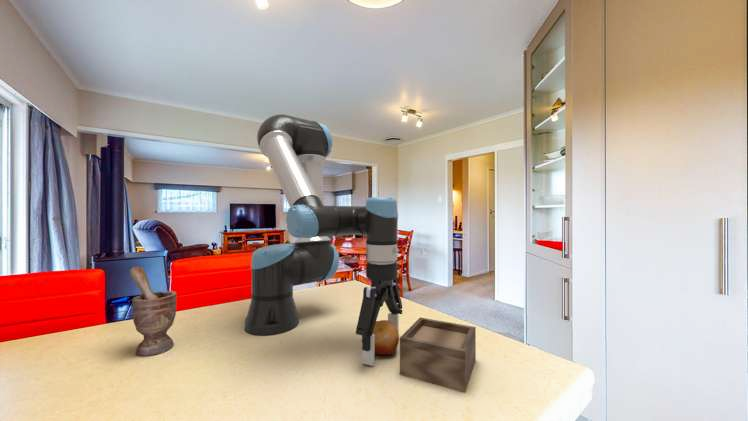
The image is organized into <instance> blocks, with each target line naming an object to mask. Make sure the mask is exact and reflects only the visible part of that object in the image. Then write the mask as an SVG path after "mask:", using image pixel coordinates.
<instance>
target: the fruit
mask: <svg viewBox="0 0 748 421" xmlns="http://www.w3.org/2000/svg"><path fill="white" fill-rule="evenodd" d="M372 334H375V356H388V355H392V354H394V353H395V352H396V351H397V349H398V346H399V342H400V337H399V336H400V335H398V330H397V328H396V327H395V326H394V325H393V324H392V323H391V322H389V321H388V319H387V320H386V319H383V320H382V319H381V320H376V323H375V326H374V330H373V333H372Z"/></svg>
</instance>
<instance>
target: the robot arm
mask: <svg viewBox="0 0 748 421" xmlns="http://www.w3.org/2000/svg"><path fill="white" fill-rule="evenodd" d="M256 138H257V140H256V141H257V145H258V148H259V150H260V152H261V154H262V155H263V156H265V158H267V159H268V161H269V164H270V166H271V168H272V170H273V173H274V175H275V176H276V178H277V181H278V184H279V185H280V188H281V191H282V192H283V195H284V198H285V199H286V202H287V204H288V206H289V208H288V210H287V213H286V216H285V223H286V230H287V231H288V233H289V235H290V236H292V237H294V238H296V240H295V241H294V246H293V244H292V243H279V244H278V243H277V244H271V245H266V246H262V247H259V248H257V249H255V250H254V251H252V255H251V264H250V270H251V273H250V274H251V276H250V277H251V279H250V280H251V281H250V282H251V283H250V284H251V285H250V286H251V290H250V291H251V295H250V296H251V300H250V304H249V308H248V311H247V315H246V316H245V318H244V331H246V333H249V334H252V335H256V336H257V335H259V336H267V335H269V336H270V335H276V334H280V333H281V334H282V333H285V332H288V331H290V330H292V329H294V328H295V327H297V326H298V325H299V323H300V321H299V320H300V316H299V312H298V310H297V306H296V302H295V300H294V289H293V288H294V287H295V286H301V285H306V284H311V283H322V282H323V281H327V280H330V279H332V278H333V277H334V276H335V274H336V273H337V272H338V269H339V264H340V256H339V255H340V254H339V252H338V249H337V247H336V246H335V245H333V244H332V242H331V241H332V240H331V238H330V237H336V236H337V237H338V236H339V237H340V236H356V235H357V236H358V235H359V236H365V237H366V238H365V239H366V241H365V243H366V245H365V246H366V247H365V250H366V251H365V253H366V254H365V261H367V262H366V264H365V275H366V276H365V277H366V278H367V279H368V280H370V282H371V283H370V287H368V286H364V288H363V290H362V291H363V295H362V301H361V306H360V310H359V315H358V320H357V324H356V329H355V335H358V336H361V363H362V364H364V365H368V366H372V367H373V366H375V356H376V355H375V334H372V333H373V330H374V326H375V323H376V321H378V320H377V319H378V316H379V312H380V309H381V308H382V307H383V306H384V303H385V305H386V308H387V309H388V313H387V321H389V322H391V323H392V324H393V325H394V326H395V327H396V328H397V330H398V335H399V333H400V332H399V331H400V330H399V329H400V327H399V324H400V323H399V320H400V319H399V318H400V317H399V315H403V304H402V298H401V293H400V289H399V283H398V281H399V280H398V277H399V276H398V275H399V274H398V267H399V266H398V263H397V260H398V253H399V252H400V249H399V248H398V219H399V218H398V217H399V213H398V202H397V200H396V198H394V197H392V196H391V197H389V196H372V197H368V198H367V199H366V200H365V201H366V203H365V206H364V205H361V206H360V205H357V206H356V205H325V199H324V198H325V196H324V178H323V164H324V163H325V162H326V161H327V157H328V156H329V155H330V154H331V152H332V148H333V136H332V133H331V131H330V129H329V128H328V127H327V125H325V124H324V123H320V122H318V121H316V120H309V119H305V118H300V117H295V116H291V115H289V114H280V113H279V114H275V115H274V114H273V115H271V116H269V117H268V118H266V119H265V120H264V121H263V122H262V123H261V125H260V126H259V127H258V131H257V135H256ZM399 336H400V335H399Z"/></svg>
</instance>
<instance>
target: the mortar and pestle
mask: <svg viewBox="0 0 748 421" xmlns="http://www.w3.org/2000/svg"><path fill="white" fill-rule="evenodd" d="M129 275H130V277H131V279H132V280H133V281H134V282H133V283H135V285H136V286H137V288H138V289H139V290H140V292H141V294H140V295H137V296H134V297H133V298H132V299H131V301H132V320H133V324H134V326H135V330H136V331H137V332H138V333H139V334H140V335H142V336H143V339H142V340H141V342H140V343H139V344H138V345H137V347H136V350H135V353H136V355H137V356H141V357H143V356H145V357H146V356H152V355H158V354H164V353H165V352H167V351H169V349H172V348H173V347H174V345H175V344H174V341H173V338H171V337H170V336H169V334H167V332H168V330H170V328H171V327H172V326H173V324H174V322H175V318H176V315H177V314H176V313H177V297H178V296H177V292H176V291H174V290H171V291H169V290H168V291H155V292H154V291H153V289H152V287H151V284H150V282H149V279H148V276H147V274H146V271H145V269H144V268H143V267H142V266H141V265H136V266H134V267H131V268H130V269H129Z"/></svg>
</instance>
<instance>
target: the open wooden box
mask: <svg viewBox="0 0 748 421" xmlns="http://www.w3.org/2000/svg"><path fill="white" fill-rule="evenodd" d="M476 333H477V332H476V326H471V325H466V324H461V323H459V324H458V323H455V322H448V321H442V320H437V319H431V318H426V317H422V316H421V317H419V318H417V320H416V321H415V322H413V324H411V325H410V327H409V328H408V329H406V331H405V332H404V333H403V334H402V335H401V336H400V337H399V375H401V376H404V377H408V378H412V379H416V380H419V381H423V382H426V383H430V384H434V385H437V386H440V387H444V388H448V389H452V390H454V391H459V392H463V393H466V390H467V388H468V385H469V382H470V379H471V375H472V372H473V370H474V367H475V363H476V358H477V357H476V356H477V355H476V349H477V348H476V345H477V344H476Z"/></svg>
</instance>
